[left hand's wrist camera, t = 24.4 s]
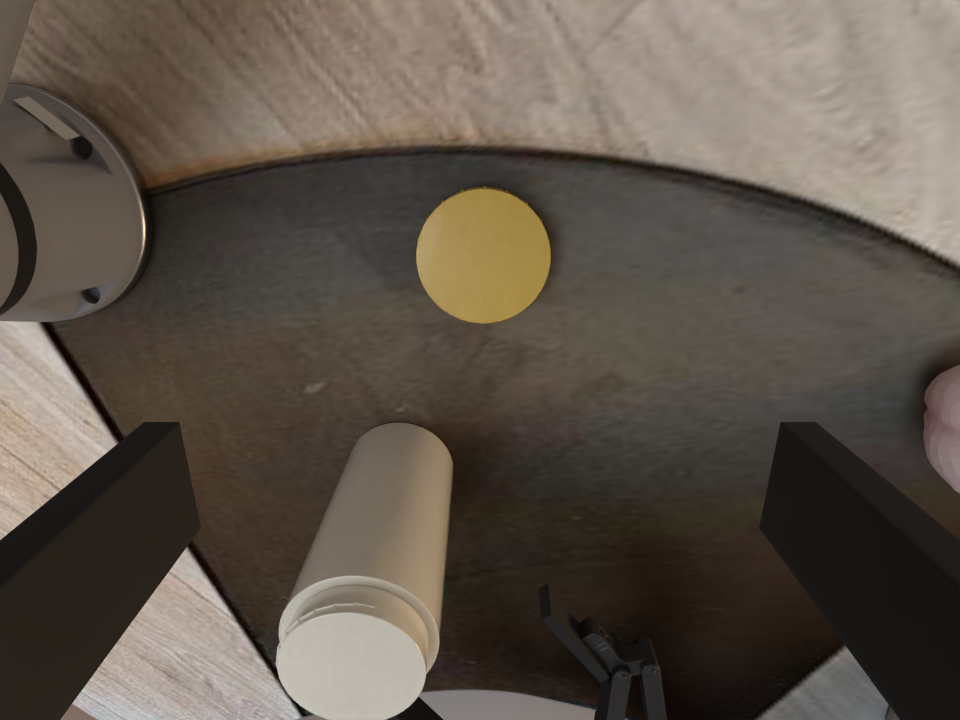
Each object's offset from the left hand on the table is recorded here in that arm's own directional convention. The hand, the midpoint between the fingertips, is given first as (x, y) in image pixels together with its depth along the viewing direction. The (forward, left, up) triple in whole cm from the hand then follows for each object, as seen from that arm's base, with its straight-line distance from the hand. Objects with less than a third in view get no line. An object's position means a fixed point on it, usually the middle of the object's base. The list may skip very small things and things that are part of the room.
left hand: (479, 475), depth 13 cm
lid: (0, 0, -28) cm, 28 cm away
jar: (-3, -18, -29) cm, 35 cm away
